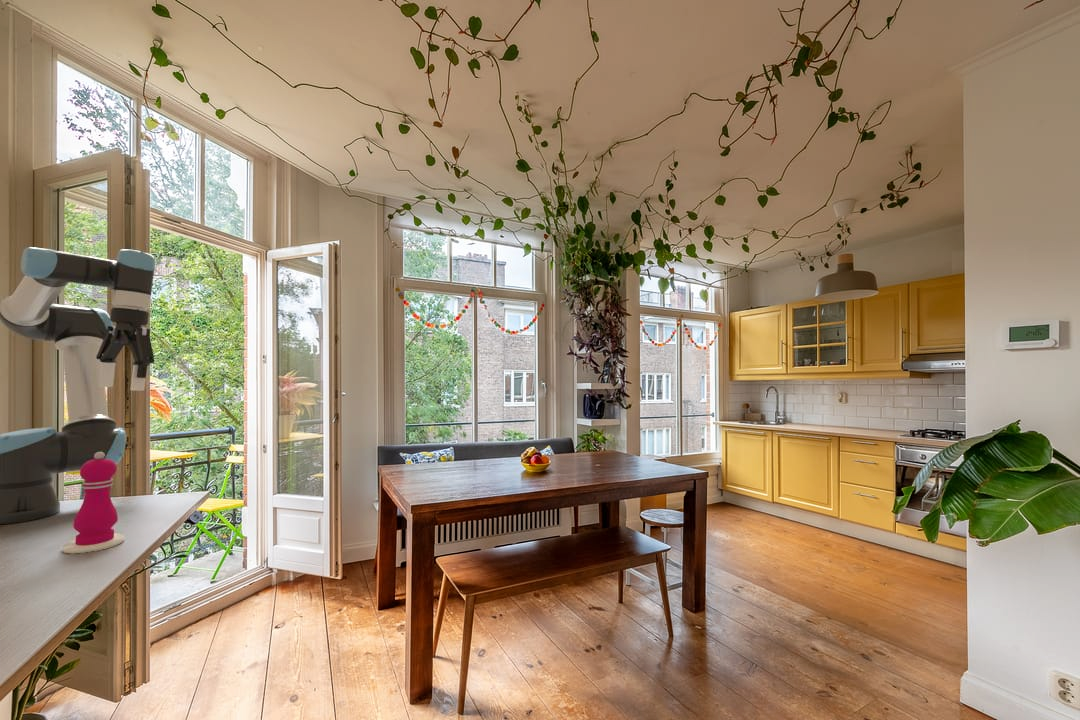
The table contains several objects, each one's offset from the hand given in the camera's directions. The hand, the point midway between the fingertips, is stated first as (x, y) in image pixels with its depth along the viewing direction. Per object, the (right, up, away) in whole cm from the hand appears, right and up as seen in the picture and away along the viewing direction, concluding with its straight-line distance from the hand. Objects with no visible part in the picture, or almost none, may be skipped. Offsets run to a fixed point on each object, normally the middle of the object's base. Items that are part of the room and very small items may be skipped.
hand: (121, 388), depth 120 cm
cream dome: (+10, -34, -17) cm, 40 cm away
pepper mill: (+10, -34, -17) cm, 39 cm away
